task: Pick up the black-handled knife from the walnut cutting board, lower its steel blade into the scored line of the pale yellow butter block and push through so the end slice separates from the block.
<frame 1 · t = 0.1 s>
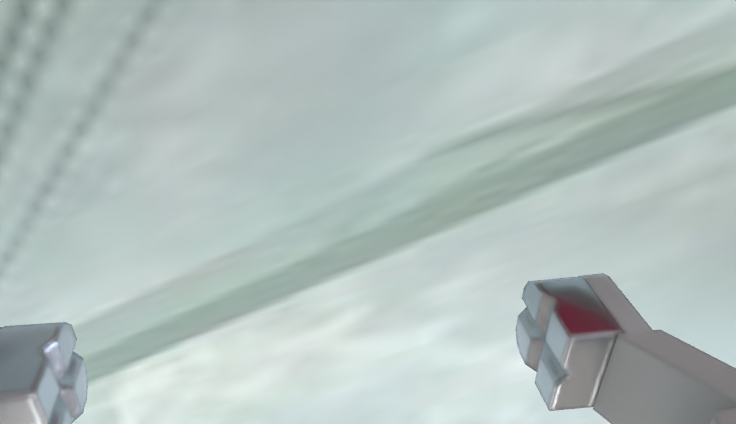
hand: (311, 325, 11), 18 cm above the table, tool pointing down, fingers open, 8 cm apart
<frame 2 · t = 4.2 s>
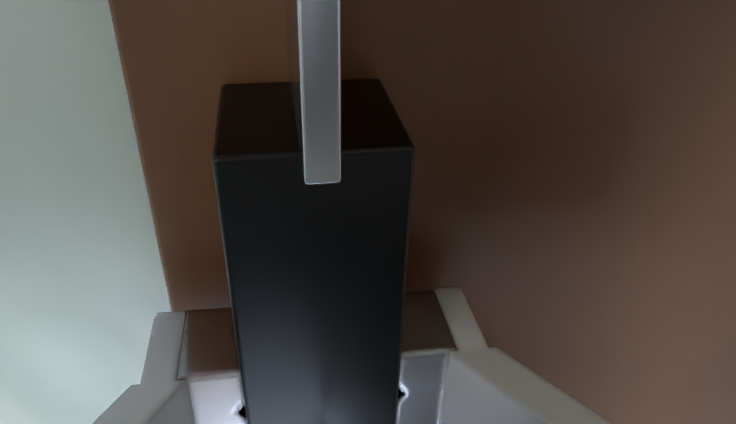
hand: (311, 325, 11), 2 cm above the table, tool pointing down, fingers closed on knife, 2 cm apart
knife: (311, 307, 11), point 1 cm above the table, touching cutting board, gripper
cutting board: (590, 98, 11), on the table
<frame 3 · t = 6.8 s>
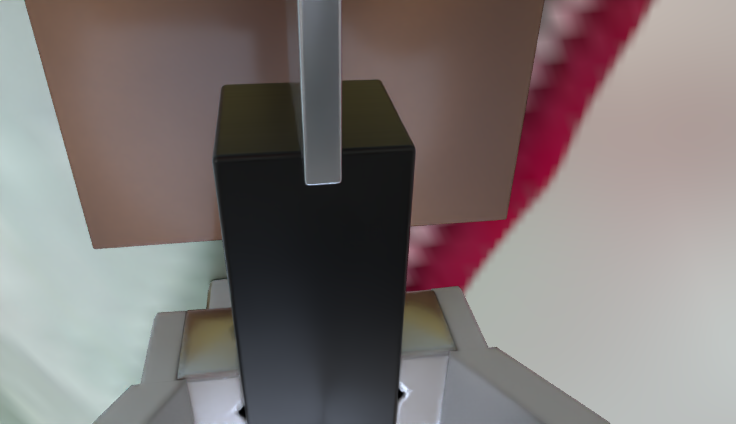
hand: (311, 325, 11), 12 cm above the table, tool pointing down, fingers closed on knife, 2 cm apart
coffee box: (291, 342, 28), on the table
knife: (311, 308, 11), point 12 cm above the table, touching gripper
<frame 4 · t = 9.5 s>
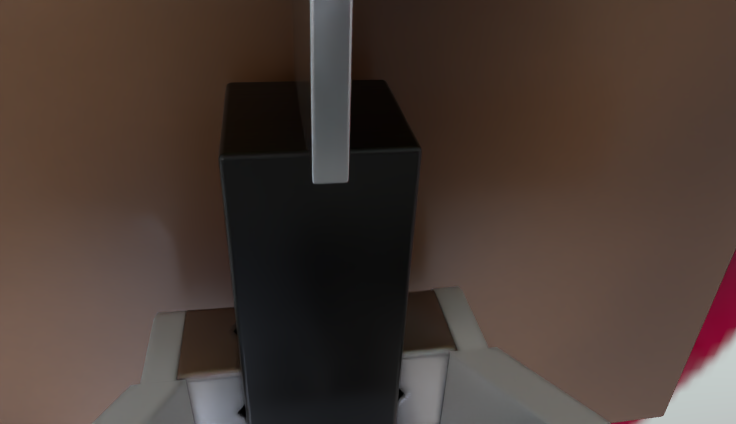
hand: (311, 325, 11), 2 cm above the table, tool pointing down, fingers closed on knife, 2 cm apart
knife: (311, 307, 11), point 2 cm above the table, touching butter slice, gripper
cutting board: (372, 96, 11), on the table
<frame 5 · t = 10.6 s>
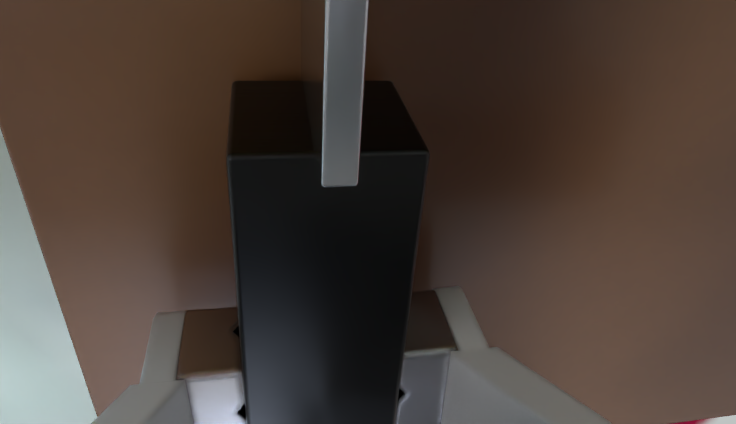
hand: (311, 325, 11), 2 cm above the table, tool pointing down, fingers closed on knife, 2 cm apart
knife: (311, 306, 11), point 1 cm above the table, touching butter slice, gripper
cutting board: (486, 96, 11), on the table
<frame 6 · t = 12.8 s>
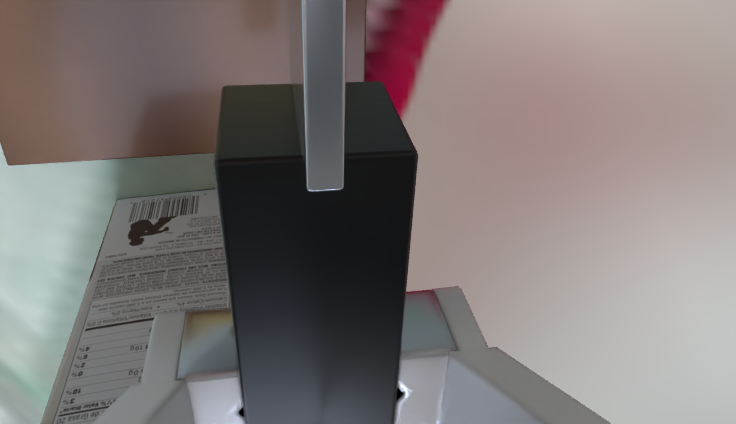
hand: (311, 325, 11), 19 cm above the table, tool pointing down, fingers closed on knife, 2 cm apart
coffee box: (193, 259, 32), on the table
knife: (310, 308, 11), point 18 cm above the table, touching gripper
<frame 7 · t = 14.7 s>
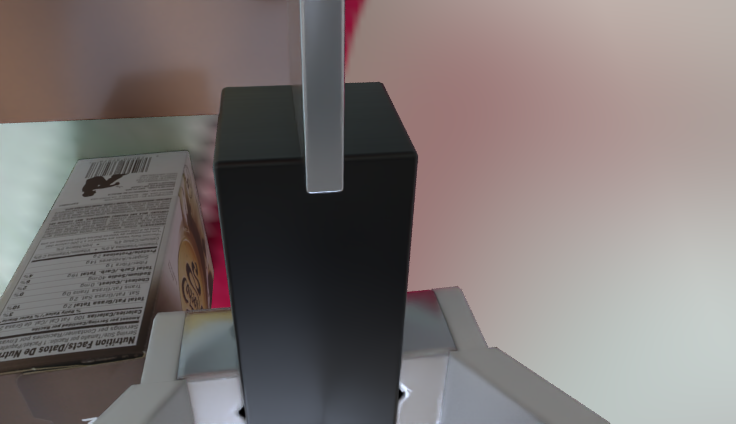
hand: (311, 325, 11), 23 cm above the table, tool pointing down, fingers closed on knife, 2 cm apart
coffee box: (151, 218, 35), on the table
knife: (311, 309, 11), point 23 cm above the table, touching gripper
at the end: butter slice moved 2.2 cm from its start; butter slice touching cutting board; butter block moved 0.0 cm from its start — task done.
